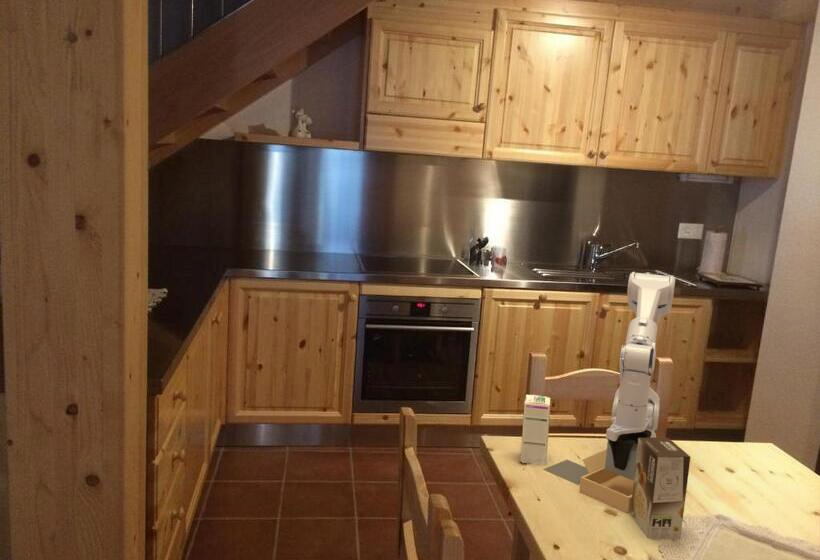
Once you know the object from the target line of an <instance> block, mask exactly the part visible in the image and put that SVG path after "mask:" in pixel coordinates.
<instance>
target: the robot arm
mask: <svg viewBox="0 0 820 560" xmlns="http://www.w3.org/2000/svg"><path fill="white" fill-rule="evenodd" d="M627 283H628V284H627V290H626V291H627V306H628V310H630V311H631V312H633V313H635V315H636V316H635V318H633V319H632V320H630V321H629V324H628V330H627V333H626V338H625V342H624V343H625V344H622V346H621V348H620V353H619V364H618V365H619V375H618V376H619V377H618V379H619V380H620V381H619V388H617V389H616V391H615V395H614V399H613V403H612V407H611V408H612V409H611V417H610V421H611V422H612V423H611V425H610V427H609V428H606V434H605V438H606V440H607V443H608V442H609V444H610V447H611V450H612V454H613V461H614V467H615V468H618V469H620V470H625V468H626V466H627V462H628V458H629V454H630V451H631V449H632V447H633V445H634V444H638V438H649V437H657V435H656V432H655V431H656V430H657V429H658V423H659V415H660V402H661V399H660V395H659V394H658V393H657V392H656V391H655V390H654V389H653V388H651V378H652V375H653V373H654V370H655V365H656V364H655V363H656V358H657V357H656V355H657V350H656V344H657V343H656V341H657V335H658V325H659V322H660V320H661V318H662V317H664V316H667V315H669V314H670V311H671V310H672V305H673V300H674V294H675V293H674V292H675V285H676V277H674V275H660V274H653V273H642V272H636V271H632V272H630V274H629V277H628V282H627Z"/></svg>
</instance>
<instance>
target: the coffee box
mask: <svg viewBox="0 0 820 560" xmlns="http://www.w3.org/2000/svg"><path fill="white" fill-rule="evenodd" d="M690 463H691V456H690V455H689V454H688V453H687V452H685V451H684V450H683V449H682V448H681V447H679V445H677V444H676V443H675V442H674V441H673V440H672V439H671V438H669V437H658V436H656V437H649V438H638V446H637V456H636V465H635V475H634V484H633V493H632V503H631V512H629V514H630V517H631V518H632V519H633V522H635V523H636V525H637V526H638V527H639V528H640V530H641V531H642V532H643V534H644V535H645V536H646V537H647V538H648V539H650V540H680V539H681V537H682V528H683V522H684V521H683V519H684V512H685V505H686V496H687V489H688V480H689V479H688V478H689V472H690V465H691V464H690Z"/></svg>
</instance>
